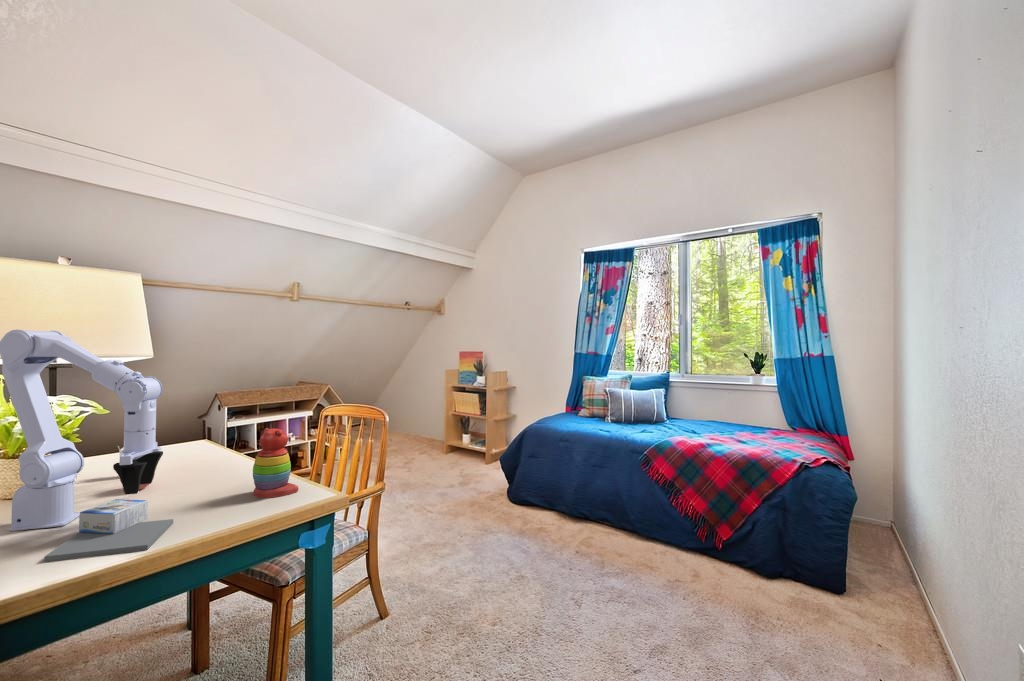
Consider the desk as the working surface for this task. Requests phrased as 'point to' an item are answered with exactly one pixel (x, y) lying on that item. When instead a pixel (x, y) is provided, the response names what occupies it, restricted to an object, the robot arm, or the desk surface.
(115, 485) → the desk surface
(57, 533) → the desk surface
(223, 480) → the desk surface
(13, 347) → the robot arm
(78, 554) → the mat
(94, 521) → the medicine box
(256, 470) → the stacking bear
